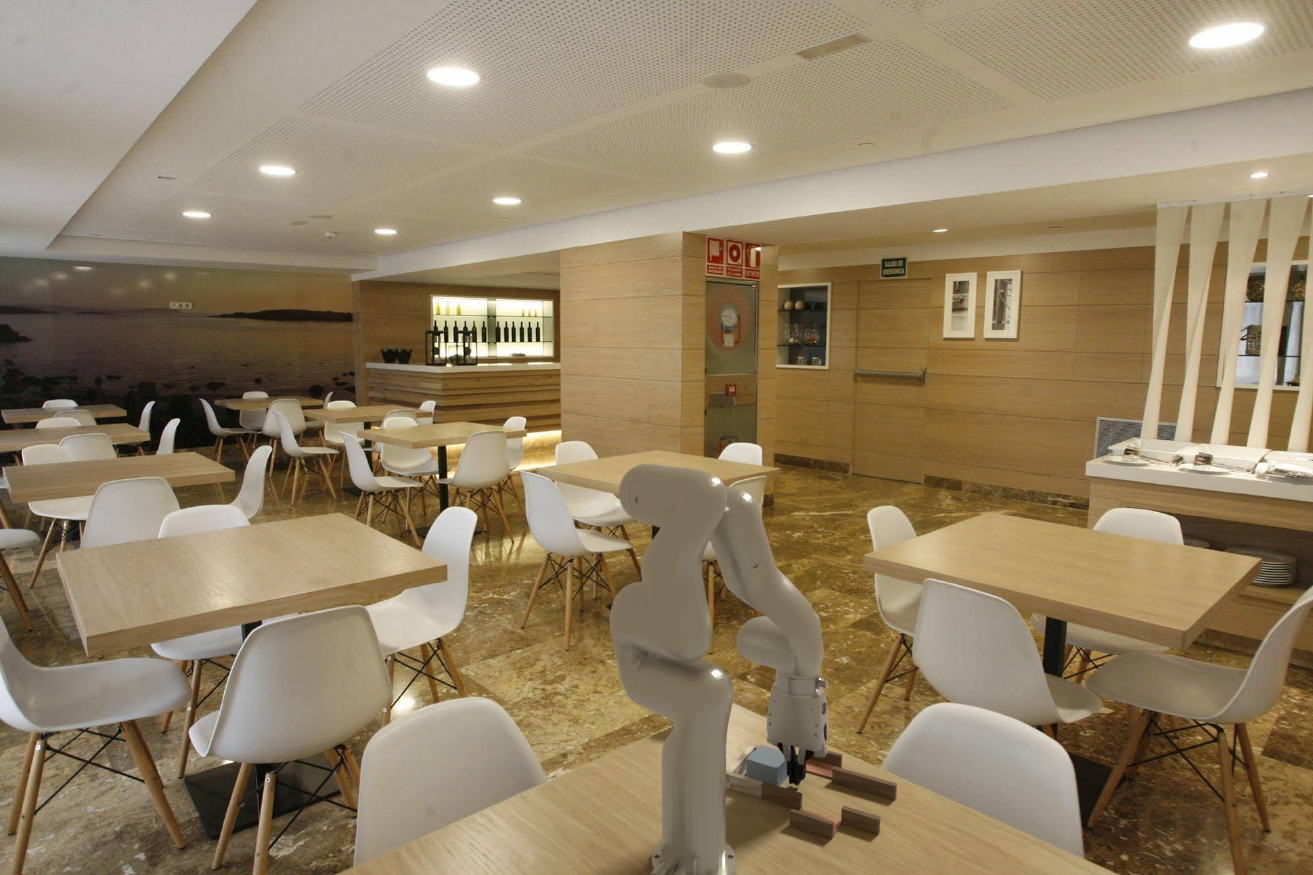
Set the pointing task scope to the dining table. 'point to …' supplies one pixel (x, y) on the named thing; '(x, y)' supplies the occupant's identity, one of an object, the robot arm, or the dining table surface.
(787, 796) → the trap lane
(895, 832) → the dining table surface
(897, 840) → the dining table surface
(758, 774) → the slate block
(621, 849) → the dining table surface
